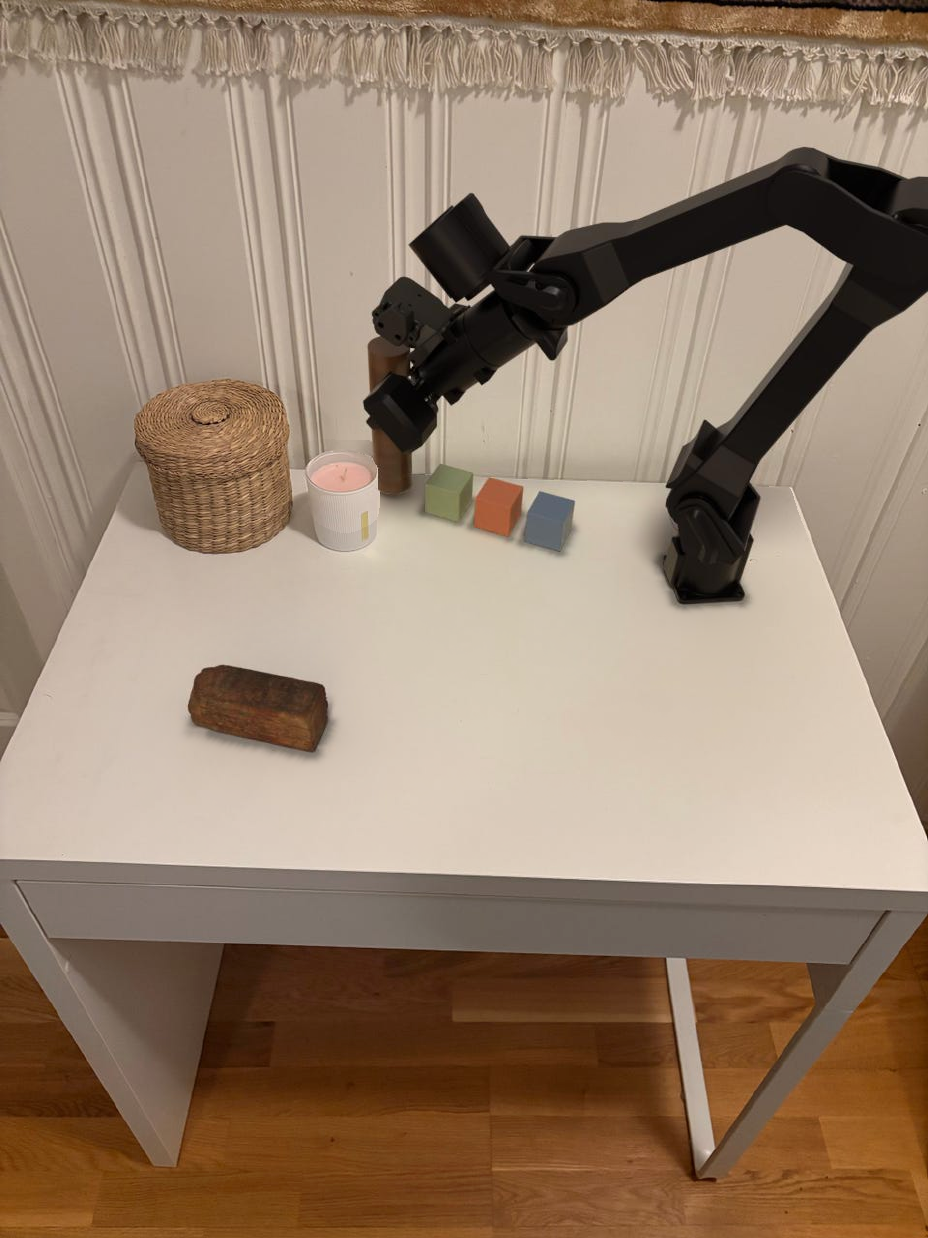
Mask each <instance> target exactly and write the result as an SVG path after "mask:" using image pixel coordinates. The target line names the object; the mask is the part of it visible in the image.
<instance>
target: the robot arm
mask: <svg viewBox="0 0 928 1238" xmlns="http://www.w3.org/2000/svg"><path fill="white" fill-rule="evenodd" d="M785 226H787V227H790V228H792V229H794V230H796V231H799V232H800V233H801V232H802V233H803V234H805V235H806V236H807V237H809V238H810V239H811V240H813V241H814V242H815V243H816V244H818V245H820V246H821V247H822V248H824V249H826V250H827V251H828V252H829V253H831V254H832V255H833V256H835V257H836V258H837V259H839V260H841V261H843V262H845V264H844V266H843V268H842V270H841V272H840V275H839V276H838V279H837V281H836V282H835V285H834V286H833V287H832V289H831V291H830V292H829V293H828V295H827V296H826V297H825V298H824V300H823V301H822V303H820V305H819V306H818V307H817V309H816V310H815V311H814V312H813V314H812V315H811V317H810V318H809V319H808V320H807V322H806V323H805V324H804V326H802V328H801V329H800V330H799V332H798V333H797V334H796V336H795V337H794V338H793V340H792V341H791V342H790V344H788V346H787V347H786V348H785V350H784V351H783V352H782V353H781V355H780V356H779V357H778V359H777V360H776V361H775V362H774V364H773V365H772V367H770V368H769V370H768V372H767V373H766V374H765V375H764V377H762V379H761V380H760V382H759V383H758V384H757V386H756V387H755V388H754V390H753V391H752V392H751V393H750V395H748V397H747V399H746V400H745V401H744V402H743V403H742V405H741V406H740V408H739V409H738V410H737V411H736V412H735V414H734V415H733V416H732V417H731V418H730V419H729V420H728V421H726V422H725V423H723V424H721V425H719V426H717V427H716V426H714V425H713V424H712V423H710V422H709V421H708V420H707V419H703V420H702V423H701V424H700V426H699V428H698V430H697V433H696V434H695V436H694V437H693V438H692V439H691V440H690V441H689V442H687V443H685V444H684V445H682V446H681V448H680V451H679V454H678V456H677V458H676V460H675V463H674V465H673V467H672V469H671V472H670V475H669V477H668V479H667V482H666V484H665V488H666V489H669V492H668V494H667V497H666V499H665V505H664V506H665V508H666V509H667V510H666V511H667V515H668V516H669V517H670V518H671V520H672V521H673V523H675V524H676V525H677V533H676V535H675V536H674V535H672V537H671V538H670V541H669V544H668V549H667V552H666V554H665V555H664V556H663V558H662V562H663V570H664V571H665V575H666V577H667V580H668V583H669V585H670V586H671V587H672V588H673V590H674V593H675V596H676V598H677V601H678V602H679V603H680V604H698V603H716V602H717V603H718V602H734V601H742V600H744V599H745V596H746V593H745V590H744V588H743V586H742V584H741V580H742V577H743V574H744V571H745V569H746V566H747V562H748V559H749V556H750V554H751V550H752V547H753V545H754V541H755V540H754V537H753V536H752V532H751V531H752V529H753V525H754V522H755V518H756V516H757V512H758V509H759V506H760V502H761V495H760V494H759V492H758V491H757V489H756V488H755V487H754V486H753V484H752V483H751V480H752V478H753V477H754V474H755V472H756V470H757V468H758V466H759V464H760V462H761V460H762V459H763V458H764V457H765V456H766V455H767V453H768V452H769V451H770V450H771V449H772V447H773V446H774V445H775V444H776V443H777V442H778V440H779V439H780V438H781V437H782V436H783V435H784V433H785V432H786V431H787V430H788V429H789V427H790V426H791V425H792V424H793V423H794V422H795V421H796V419H797V418H799V416H800V415H801V414H802V413H803V411H804V410H805V409H806V407H808V405H809V404H810V403H811V402H812V401H813V400H814V398H815V397H816V396H817V395H818V393H820V391H821V390H822V389H823V388H824V387H825V385H826V384H827V383H828V382H829V381H830V380H831V379H832V377H833V376H834V375H835V374H836V373H837V372H838V370H839V369H840V368H841V366H842V365H843V364H844V363H845V362H846V361H847V360H848V359H849V358H850V356H851V355H852V354H853V352H855V350H856V349H857V348H858V347H859V345H860V344H862V342H863V341H864V340H865V339H866V337H867V336H868V335H869V334H870V333H871V332H872V331H874V330H875V329H876V328H878V327H880V326H881V325H883V324H885V323H886V322H888V321H890V320H892V319H894V318H896V317H897V316H899V315H901V314H902V313H904V312H905V311H907V310H908V309H909V308H911V306H913V305H914V304H915V303H916V302H917V301H919V300H920V299H921V298H922V297H924V296H925V295H926V294H927V293H928V176H920V175H919V176H915V177H914V176H913V177H911V178H907V177H906V176H902V175H900V174H897V173H896V172H893V171H890V170H888V169H886V168H883V167H880V166H877V165H873V164H866V163H861V162H857V161H851V160H846V159H841V158H838V157H836V156H833V155H830V154H829V153H826V152H824V151H821V150H819V149H817V148H815V147H809V146H801V147H797V148H793V149H791V150H788V151H787V152H786V153H785V154H784V155H782V156H781V157H780V158H777V159H776V160H774V161H772V162H769V163H767V164H764V165H762V166H760V167H757V168H755V169H753V170H751V171H748V172H746V173H744V174H741V175H738V176H736V177H734V178H732V179H730V180H727V181H724V182H722V183H719V184H718V185H715V186H712V187H711V188H708V189H706V190H703V191H701V192H699V193H696V194H694V195H692V196H689V197H687V198H685V199H682V200H680V201H678V202H675V203H673V204H670V205H667V206H665V207H664V208H660V209H659V210H656V211H654V212H652V213H648V214H647V215H644V216H642V217H640V218H637V219H632V220H627V221H623V222H616V221H615V222H614V221H612V222H611V221H610V222H607V221H605V222H604V221H603V222H599V223H594V224H589V225H586V226H581V227H577V228H572V229H568V230H566V231H563V232H561V234H559V235H558V236H544V235H543V236H542V235H526V234H525V235H524V234H521V235H519V236H518V238H517V239H515V240H514V242H513V243H512V244H511V245H510V244H509V242H507V240H506V239H505V237H504V236H503V235H502V234H501V232H500V231H499V229H498V228H497V227H496V226H495V224H494V223H493V221H492V220H491V219H490V217H489V216H488V214H487V213H486V211H485V209H484V206H483V204H482V203H481V201H480V200H479V199H478V197H477V196H476V195H475V193H473V192H469V193H468V194H467V195H466V196H464V198H462V199H461V200H460V201H459V202H457V203H456V204H455V205H453V204H451V205H450V206H449V207H448V208H447V209H446V210H444V211H443V212H442V213H441V214H440V215H439V216H438V217H437V218H435V220H434V221H432V222H431V223H430V224H429V225H428V226H427V227H425V229H424V230H422V231H421V232H420V233H418V235H417V236H416V237H414V239H412V240H411V242H409V243H408V245H407V246H408V247H409V249H411V251H412V252H413V253H414V254H415V256H416V257H417V258H418V259H419V261H420V262H421V263H422V264H423V266H424V267H425V269H427V271H428V272H429V273H430V275H431V276H432V277H433V278H434V280H435V281H436V283H437V284H438V285H439V286H440V287H441V289H442V290H443V292H444V293H445V294H446V296H448V297H449V299H452V300H453V302H454V303H453V304H451V306H449V307H448V306H446V304H444V302H443V300H442V299H441V298H439V297H438V296H437V295H435V294H433V293H432V292H431V291H429V290H428V289H426V288H425V287H423V286H422V285H421V284H420V283H418V282H416V281H415V280H414V279H413V278H410V277H408V276H400V277H399V278H397V279H396V280H395V281H394V282H393V283H392V284H391V285H390V286H389V287H388V288H387V289H386V290H385V291H384V293H383V295H382V297H381V300H380V302H379V303H378V305H377V306H376V307H375V308H374V309H373V310H372V311H371V317H372V324H373V328H374V332H375V333H376V334H377V335H378V336H381V337H383V338H384V339H386V340H387V341H388V342H390V343H391V344H393V345H394V346H401V345H402V344H403V345H405V346H406V347H409V348H410V349H413V350H411V351H410V353H409V355H408V356H407V358H408V359H409V360H410V364H411V365H412V366H411V373H410V374H409V376H408V379H407V378H406V376H402V375H398V374H394V373H392V372H391V371H390V372H389V373H388V374H387V375H386V376H385V378H384V379H383V380H382V381H381V382H380V383H379V384H378V385H377V386H376V387H375V388H374V389H373V390H372V392H371V393H370V392H369V393H368V395H367V396H366V397H365V398H364V399H363V400H362V405H363V410H364V411H365V412H366V414H368V415H369V417H368V418H367V419H366V420H365V424H366V425H367V426H368V427H369V428H370V429H371V431H372V430H383V432H384V433H385V434H386V435H387V436H388V437H389V439H390V440H391V441H392V442H393V443H394V444H395V445H396V447H397V448H398V449H399V450H400V451H401V452H402V453H403V454H408V455H409V454H411V453H412V454H413V453H414V452H415V451H417V450H418V449H420V448H421V447H423V446H424V444H425V443H426V442H427V441H428V439H429V438H430V437H431V435H432V434H433V433H434V431H435V430H436V429H437V428H438V414H439V410H440V409H439V405H438V402H439V400H441V398H442V397H443V398H444V400H446V402H447V404H448V405H450V406H451V407H452V406H453V405H455V404H456V403H458V402H459V401H460V400H461V398H462V397H463V396H464V395H465V393H466V392H467V391H468V390H469V389H471V388H472V387H473V386H475V385H476V384H478V383H479V384H480V386H483V385H485V384H486V383H488V382H490V380H491V379H492V378H493V376H494V375H495V374H496V373H497V371H498V369H500V368H502V367H504V366H505V365H507V364H508V363H509V362H511V361H512V360H513V359H515V358H516V357H519V356H520V355H521V354H523V353H525V352H526V351H527V350H529V349H530V348H531V347H533V346H534V345H536V344H537V346H538V348H539V349H540V350H541V351H542V353H543V354H544V355H545V356H546V358H547V359H548V360H549V361H551V362H552V361H553V362H554V361H555V360H556V359H557V358H558V356H559V355H560V353H562V351H563V349H564V348H565V346H566V345H567V343H568V342H569V335H568V333H569V331H568V330H569V327H571V326H574V325H576V324H578V323H580V322H582V321H584V320H586V319H587V318H588V317H590V316H592V315H594V314H595V313H597V312H599V311H600V310H602V309H603V308H605V307H606V306H608V305H610V304H611V303H612V302H613V301H615V300H616V299H617V298H619V297H620V296H621V295H622V294H624V293H626V291H628V290H629V289H631V288H632V287H633V286H635V285H636V284H639V283H641V282H642V281H643V280H645V279H648V278H651V277H653V276H656V275H658V274H662V273H664V272H666V271H669V270H672V269H674V268H678V267H680V266H682V265H685V264H688V263H690V262H692V261H693V262H694V261H695V260H698V259H701V258H704V257H706V256H708V255H711V254H714V253H717V252H719V251H721V250H725V249H727V248H730V247H732V246H734V245H737V244H740V243H742V242H745V241H749V240H751V239H753V238H757V237H758V236H761V235H764V234H766V233H768V232H772V231H775V230H777V229H780V228H783V227H785ZM489 286H492V288H493V289H492V291H490V292H489V293H488V294H486V295H485V296H483V297H482V298H481V299H480V300H478V301H476V303H474V304H473V305H472V306H471V305H470V304H468V305H465V304H460V303H458V302H460V301H461V300H463V299H465V300H466V301H467V302H469V301H471V300H472V299H474V298H476V297H477V296H478V295H479V294H481V293H482V292H483V291H484V290H486V289H487V288H488V287H489Z"/></svg>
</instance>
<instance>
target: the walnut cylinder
mask: <svg viewBox="0 0 928 1238" xmlns="http://www.w3.org/2000/svg"><path fill="white" fill-rule="evenodd" d="M366 348H367V366H368V385H369V387H368V388H369V394H370V393H371V392H372V390H373V389H374V388H375V387H376V386H377V385H378V384H379V383H380V382H381V381H382V380H383V379H384V378H385V376H386V375H387V374H388V373H389V372H390V371H391V372H392V373H394V374H398V375H402V376H406V378H407V379H408V376H409V374H410V373H411V367H412V366H411V365H412V363H411V362H410V360H409V359H408V358H407V356H408V355H409V353H410V352H411V348H409V347H406V346H405V345H403V344H402V345H401V346H394V345H393V344H391V343H390V342H388V341H387V340H386V339H384V338H383V337H381V336H380V335H378V336H376V337H373V338H372V339H370V340H369V341H368V343H367V347H366ZM371 442H372V443H371V445H372V462H373V461H374V462H375V464H376V465H377V467H378V489H377V490H378V491H379V492H380V493H383V494H387V495H399V494H403V493H406V492H407V491H409V490H410V488H411V487H412V485H413V452H412V453H411V454H409V455H408V454H403V453H402V452H401V451H400V450H399V449H398V448H397V447H396V445H395V444H394V443H393V442H392V441H391V440H390V439H389V437H388V436H387V435H386V434H385V433H384V432H383V430H372V429H371Z"/></svg>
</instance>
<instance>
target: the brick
mask: <svg viewBox="0 0 928 1238" xmlns="http://www.w3.org/2000/svg"><path fill="white" fill-rule="evenodd" d="M327 699H328V697H327V693H326V687H325V686H324V684H321V683H319V682H315V681H310V680H304V679H299V678H295V677H292V676H291V677H290V676H285V675H279V674H275V673H270V672H264V671H259V670H254V669H251V668H250V669H249V668H244V667H239V666H235V665H230V664H218V665H216V666H207V667H204V668H202V669H201V670H200V672H199V673H198V674H196V675H195V677H194V678H193V686H192V688H191V691H190V695H189V699H188V703H187V711H188V713H189V714H190V719H191V722H192V723H193V724H195V725H197V726H200V727H203V728H207V729H210V730H213V731H215V732H219V733H224V734H228V735H232V736H237V737H241V738H246V739H251V740H256V741H260V742H264V743H269V744H272V745H276V746H280V747H285V748H290V749H297V750H301V751H305V752H314V751H315V750H316V748H317V745H318V744H319V742H320V739H321V736H322V735H323V732H324V730H325V728H326V725H327V723H328V708H329V701H328V700H327Z"/></svg>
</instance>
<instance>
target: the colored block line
mask: <svg viewBox="0 0 928 1238" xmlns="http://www.w3.org/2000/svg"><path fill="white" fill-rule="evenodd" d="M473 486H474V472H472V471H469V470H465V469H461V468H459V467H453V466H451V465H446V464H442V463H439V464H438V466H436V468H435V469H434V471H433V472H432V474H431V475H430V477H429V478H428V480H427V481H426V482H425V483H424V490H425V491H424V503H425V504H424V506H425V507H424V508H425V509H424V513H426V514H430V515H433V516H436V517H439V518H442V519H446V520H450V521H452V522H455V523H456V522H457V523H459V522H460V520H461V519H462V517H463V516H464V515H465V513H466V511H467V510H468V508H469V507H470V506H471V504H472V503H473V489H474V488H473ZM523 496H524V486H523V485H520V484H516V483H512V482H509V481H505V480H502V479H497V478H494V477H490V476H489V477H488V478H487V480H486V481H485V482H484V484H483V485H482V487H481V489H480V490H479V492H478V493H477V495H476V496H475V500H474V519H473V527H474V528H477V529H481V530H484V531H487V532H490V533H494V534H497V535H502V536H503V537H509V536H510V535H511V533H512V531H513V530H514V528H515V526H516V524H517V523H518V521H519V519H520V518H521V516H522V508H523V498H524V497H523ZM575 505H576V500H574V499H570V498H566V497H563V496H559V495H556V494H552V493H548V492H545V491H541V490H540V491H538V493H537V495H536V497H535V498H534V500H533V501H532V503H531V505H530V507H529V509H528V510H527V512H526V519H525V529H524V539H523V541H524V542H525V543H528V544H532V545H535V546H538V547H542V548H545V549H550V550H552V551H556V552H560V551H561V550H562V547H563V546H564V544H565V542H566V540H567V539H568V537H569V534H570V533H571V530H572V525H573V519H574V510H575Z"/></svg>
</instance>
